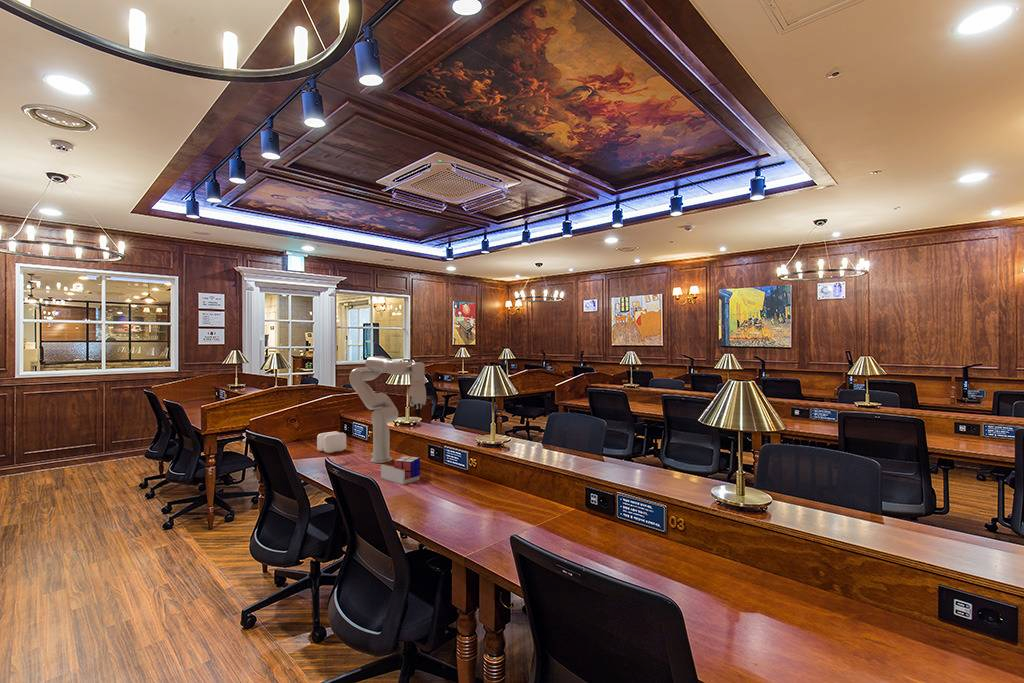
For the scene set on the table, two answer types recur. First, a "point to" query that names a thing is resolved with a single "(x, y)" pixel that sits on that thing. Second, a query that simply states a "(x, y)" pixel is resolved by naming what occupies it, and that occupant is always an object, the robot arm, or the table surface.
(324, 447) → the cable organizer
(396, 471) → the aluminium dock
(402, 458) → the puzzle cube
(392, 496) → the table surface
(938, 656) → the table surface
